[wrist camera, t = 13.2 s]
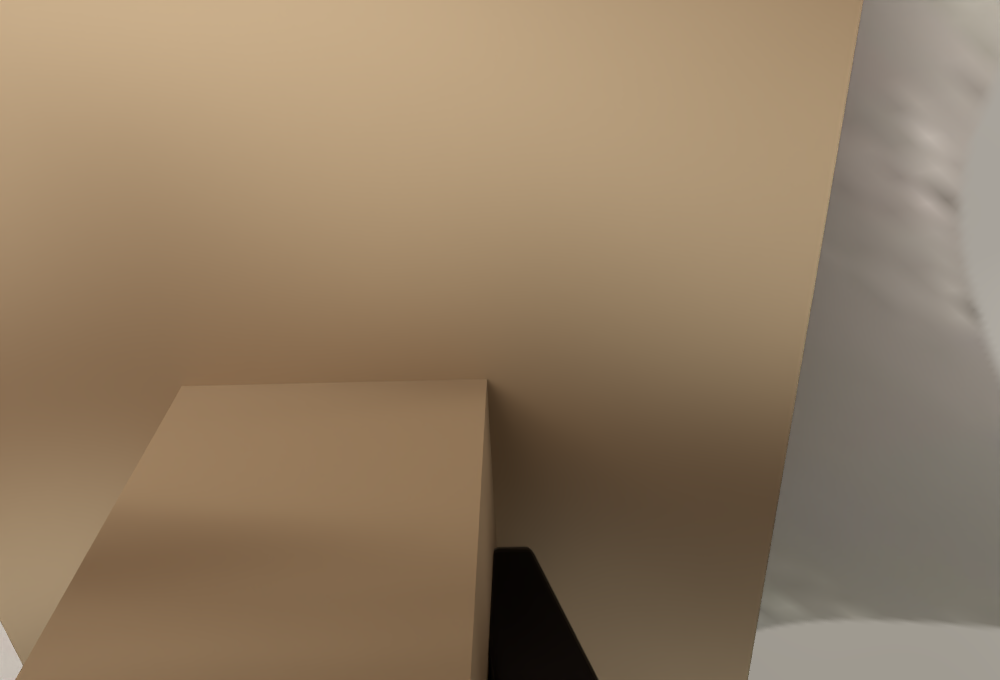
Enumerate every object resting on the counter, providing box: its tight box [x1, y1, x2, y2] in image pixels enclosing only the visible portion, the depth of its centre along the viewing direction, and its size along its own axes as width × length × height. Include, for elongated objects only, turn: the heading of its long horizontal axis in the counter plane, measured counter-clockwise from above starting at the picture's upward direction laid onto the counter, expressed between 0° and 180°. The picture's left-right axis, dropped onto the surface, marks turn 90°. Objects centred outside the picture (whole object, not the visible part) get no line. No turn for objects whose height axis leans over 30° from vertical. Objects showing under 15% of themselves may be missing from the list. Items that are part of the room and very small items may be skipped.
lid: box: [0, 0, 863, 680], centre depth 8 cm, size 16×9×5 cm, turn 2°
